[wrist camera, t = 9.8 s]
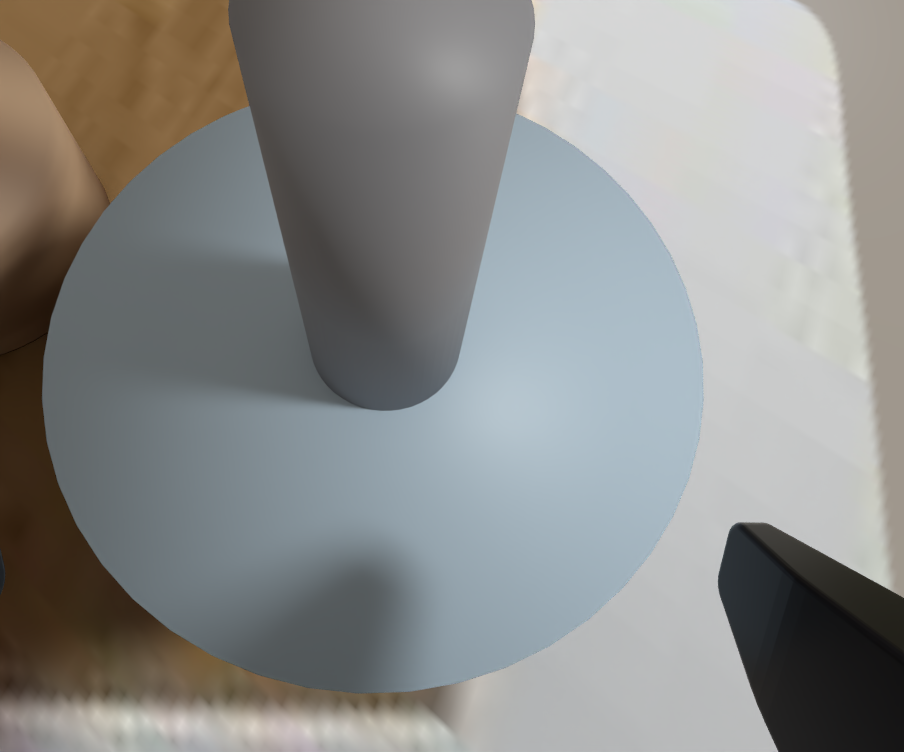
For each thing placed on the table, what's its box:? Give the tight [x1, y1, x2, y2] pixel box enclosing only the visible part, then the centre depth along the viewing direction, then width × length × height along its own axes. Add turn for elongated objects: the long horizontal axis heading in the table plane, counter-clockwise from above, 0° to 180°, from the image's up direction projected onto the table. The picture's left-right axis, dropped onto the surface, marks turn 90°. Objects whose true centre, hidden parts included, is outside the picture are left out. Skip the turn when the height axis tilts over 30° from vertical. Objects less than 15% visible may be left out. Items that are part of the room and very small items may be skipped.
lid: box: [42, 0, 704, 693], centre depth 11 cm, size 13×13×9 cm
